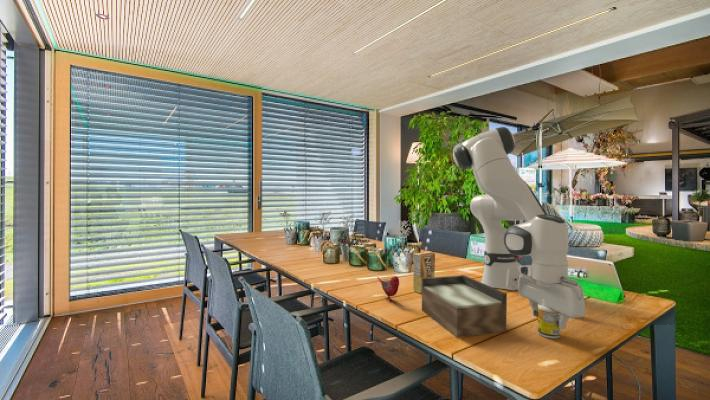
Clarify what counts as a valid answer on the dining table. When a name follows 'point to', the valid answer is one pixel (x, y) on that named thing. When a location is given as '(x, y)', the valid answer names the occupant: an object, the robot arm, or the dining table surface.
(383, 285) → the decorative bird figurine
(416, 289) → the candy box
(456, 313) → the open wooden crate
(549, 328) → the supplement bottle
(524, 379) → the dining table surface
